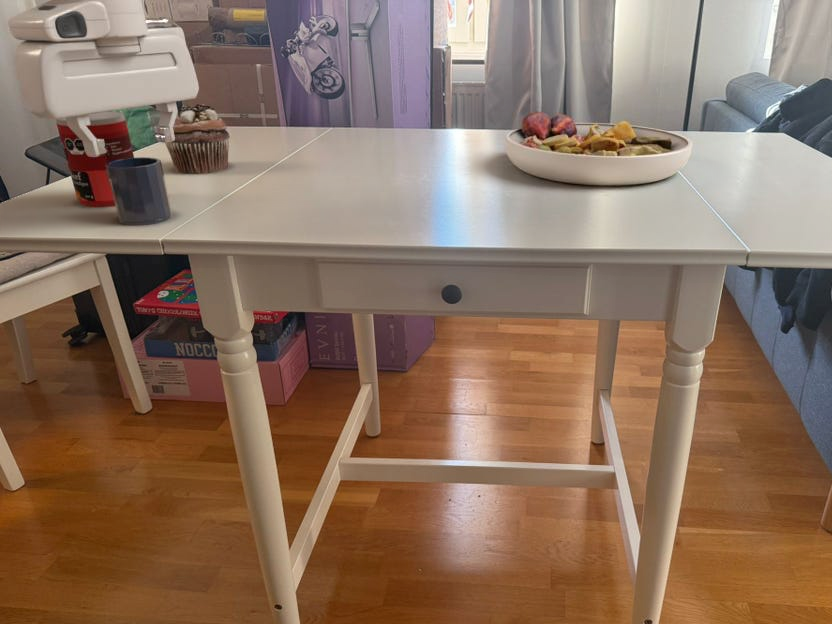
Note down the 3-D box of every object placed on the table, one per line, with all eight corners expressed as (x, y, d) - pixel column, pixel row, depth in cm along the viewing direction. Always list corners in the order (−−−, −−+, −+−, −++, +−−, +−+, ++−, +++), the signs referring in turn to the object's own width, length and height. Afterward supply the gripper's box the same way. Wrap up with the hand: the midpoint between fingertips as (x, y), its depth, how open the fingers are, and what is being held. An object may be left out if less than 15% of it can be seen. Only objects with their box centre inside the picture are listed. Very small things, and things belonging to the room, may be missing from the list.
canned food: (78, 197, 93) (55, 113, 88) (141, 190, 97) (123, 110, 91) (78, 211, 87) (53, 122, 82) (145, 203, 91) (125, 118, 85)
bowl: (714, 165, 114) (723, 117, 111) (638, 202, 93) (646, 144, 89) (562, 144, 130) (565, 101, 126) (467, 171, 109) (467, 120, 105)
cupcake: (216, 160, 115) (205, 97, 110) (244, 169, 109) (234, 104, 104) (160, 168, 109) (146, 103, 104) (187, 179, 103) (173, 110, 98)
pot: (109, 221, 83) (94, 164, 80) (150, 210, 88) (138, 155, 85) (141, 229, 81) (127, 170, 78) (182, 216, 86) (171, 160, 82)
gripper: (161, 16, 83) (185, 132, 90) (-10, 21, 67) (34, 161, 74) (197, 16, 81) (219, 136, 87) (28, 22, 65) (70, 167, 71)
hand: (133, 148), depth 80 cm, fingers open, 8 cm apart
